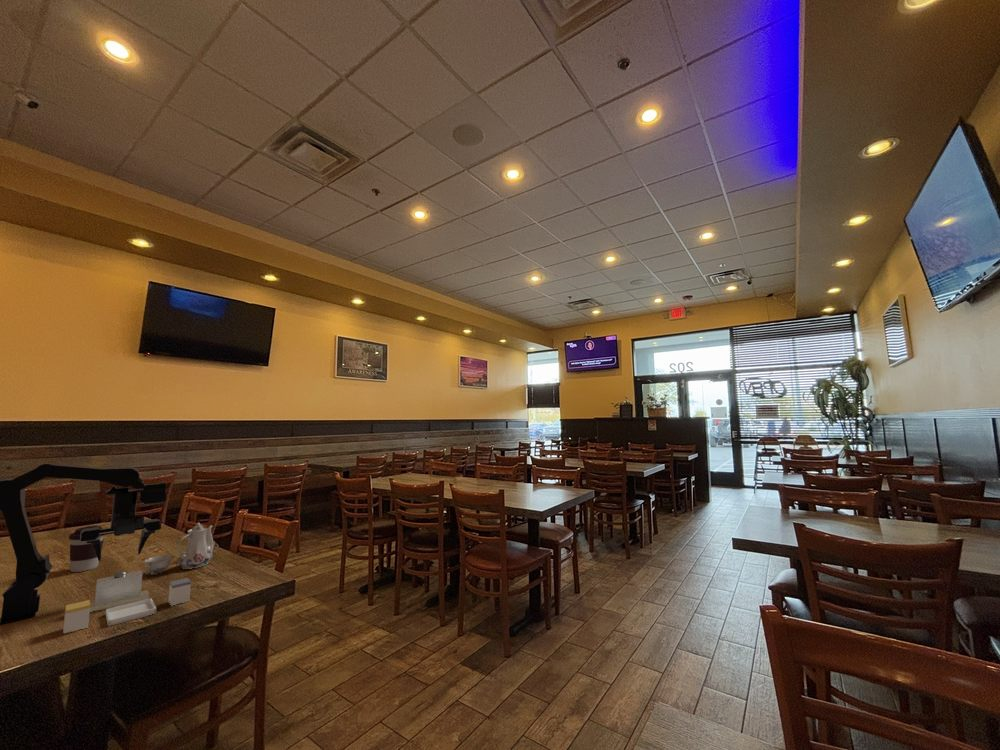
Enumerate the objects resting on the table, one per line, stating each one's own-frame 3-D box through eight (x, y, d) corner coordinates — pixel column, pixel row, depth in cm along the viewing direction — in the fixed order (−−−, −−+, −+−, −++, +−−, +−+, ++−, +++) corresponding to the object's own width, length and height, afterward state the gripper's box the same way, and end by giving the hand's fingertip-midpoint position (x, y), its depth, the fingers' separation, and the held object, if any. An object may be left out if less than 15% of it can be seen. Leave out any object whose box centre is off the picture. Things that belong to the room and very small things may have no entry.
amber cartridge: (63, 635, 105) (65, 610, 106) (63, 629, 108) (65, 605, 109) (87, 628, 109) (90, 604, 109) (87, 622, 112) (89, 599, 112)
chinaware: (200, 557, 171) (199, 516, 173) (236, 554, 169) (235, 513, 171) (133, 583, 143) (133, 534, 145) (176, 580, 141) (176, 530, 143)
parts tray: (108, 626, 109) (108, 620, 110) (105, 614, 116) (106, 609, 116) (156, 613, 117) (156, 608, 117) (151, 603, 124) (151, 598, 124)
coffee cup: (56, 574, 147) (61, 531, 149) (83, 564, 157) (88, 524, 159) (84, 573, 147) (89, 531, 149) (110, 564, 157) (114, 524, 159)
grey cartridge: (170, 606, 121) (172, 585, 122) (168, 602, 124) (170, 581, 125) (189, 601, 125) (191, 581, 125) (186, 597, 128) (188, 577, 128)
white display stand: (85, 613, 117) (88, 581, 118) (84, 609, 120) (87, 577, 121) (148, 598, 127) (151, 568, 128) (146, 594, 130) (149, 565, 131)
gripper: (84, 515, 119) (78, 571, 117) (165, 506, 132) (161, 555, 131) (83, 510, 126) (77, 562, 125) (160, 501, 140) (156, 548, 138)
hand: (119, 557), depth 129 cm, fingers open, 9 cm apart
